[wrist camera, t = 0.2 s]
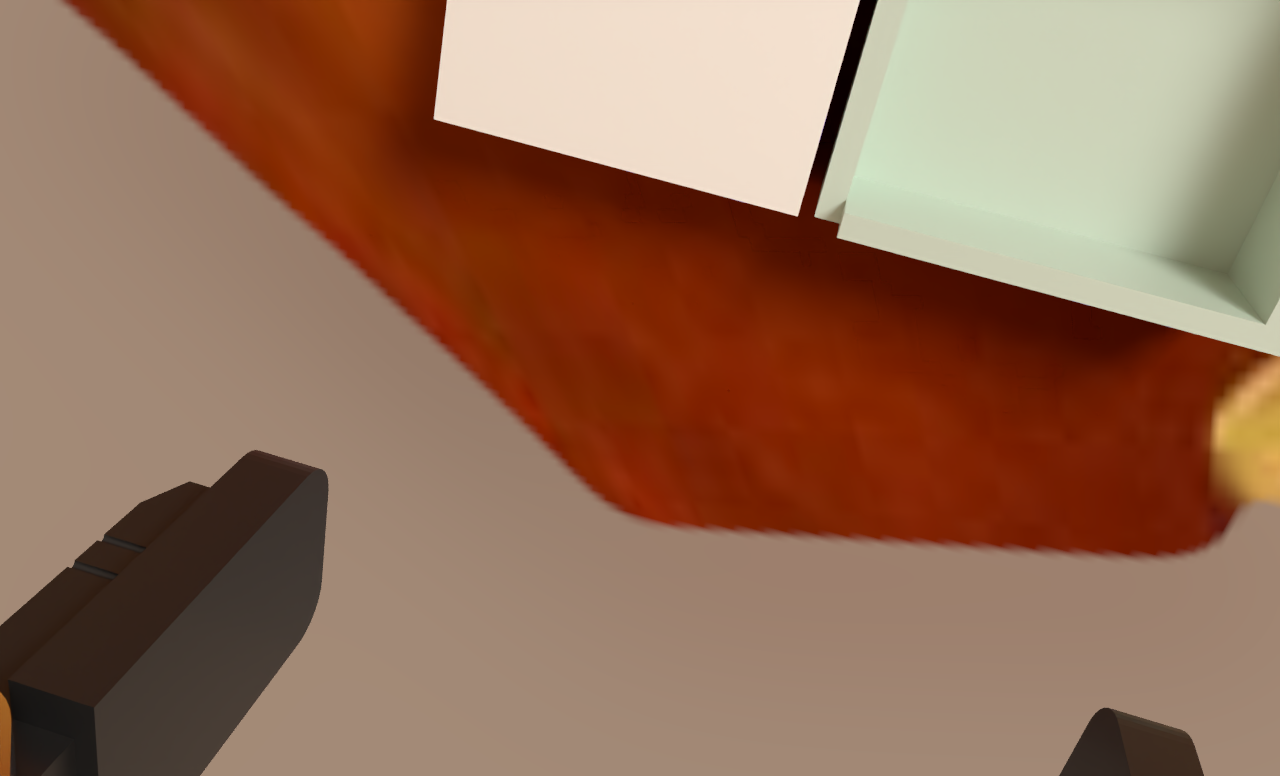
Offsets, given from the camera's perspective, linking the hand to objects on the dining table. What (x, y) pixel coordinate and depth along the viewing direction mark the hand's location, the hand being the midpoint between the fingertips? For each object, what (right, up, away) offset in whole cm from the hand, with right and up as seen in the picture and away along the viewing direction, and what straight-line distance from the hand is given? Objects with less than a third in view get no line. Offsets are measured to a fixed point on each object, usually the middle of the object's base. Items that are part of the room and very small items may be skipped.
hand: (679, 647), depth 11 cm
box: (+14, +14, +22) cm, 30 cm away
